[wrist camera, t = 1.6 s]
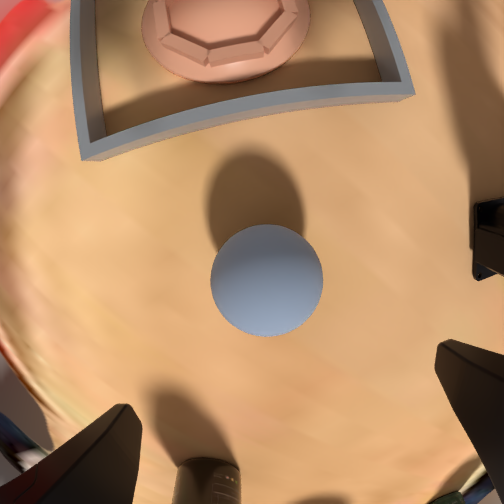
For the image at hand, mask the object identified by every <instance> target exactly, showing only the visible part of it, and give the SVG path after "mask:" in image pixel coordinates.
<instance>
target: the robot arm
mask: <svg viewBox="0 0 504 504" xmlns="http://www.w3.org/2000/svg"><path fill="white" fill-rule="evenodd" d="M479 207H480V210H479ZM478 274H479V275H478ZM495 274H499V275H501V276H503V277H504V197H500V198H495V199H489V200H484V201H479V202H476V203H475V205H474V271H473V277H474V279H475V280H477V281H480V280H483V279H486V278H488V277H491V276H493V275H495ZM435 372H436V374H437V376H438V378H439V380H440V383H441V385H442V387H443V389H444V391H445V393H446V395H447V398H448V400H449V402H450V404H451V406H452V408H453V410H454V412H455V414H456V416H457V418H458V419H459V421H460V423H461V424H462V426H463V428H464V430H465V431H466V433H467V435H468V437H469V439H470V440H471V442H472V444H473V446H474V448H475V449H476V451H477V453H478V455H479V457H480V459H481V461H482V463H483V465H484V467H485V469H486V471H487V473H488V475H489V477H490V479H491V481H492V483H493V485H494V487H495V489H496V491H497V493H498V495H499V498H500V500H501V502H502V504H504V355H502V354H498V353H495V352H492V351H488V350H485V349H482V348H478V347H475V346H472V345H469V344H465V343H462V342H459V341H456V340H453V339H448V340H446V341H443V342H441V343H439V344H438V346H437V352H436V359H435ZM141 439H142V423H141V421H140V419H139V418H138V416H137V415H136V413H135V411H134V410H133V408H132V406H131V405H129V404H116V405H114V406H113V407H112V408H111V409H109V410H108V411H107V412H105V413H104V414H103V415H102V416H100V417H99V418H98V419H96V420H95V421H94V422H92V423H91V424H90V425H88V426H87V427H86V428H84V429H83V430H82V431H80V432H79V433H78V434H76V435H75V436H74V437H72V438H71V439H70V440H68V441H67V442H66V443H64V444H63V445H62V446H60V447H59V448H58V449H56V450H55V451H54V452H52V453H51V454H49V455H48V456H47V457H45V458H44V459H43V460H41V461H40V462H38V464H35V465H34V466H33V467H31V468H30V469H28V470H27V471H25V472H24V473H22V474H21V475H20V476H18V477H16V478H15V479H13V480H11V481H9V482H8V483H6V484H4V485H2V486H0V504H132V502H133V497H134V491H135V486H136V481H137V476H138V470H139V461H140V449H141Z"/></svg>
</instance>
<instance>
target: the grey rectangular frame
mask: <svg viewBox="0 0 504 504" xmlns="http://www.w3.org/2000/svg"><path fill="white" fill-rule="evenodd" d="M353 1H354V3H355V5H356V8H357V10H358V13H359V15H360V18H361V20H362V23H363V25H364V28H365V31H366V33H367V36H368V39H369V42H370V45H371V48H372V51H373V54H374V57H375V60H376V63H377V66H378V69H379V73H380V76H381V80H382V82H365V83H345V84H332V85H321V86H311V87H302V88H294V89H287V90H280V91H274V92H268V93H262V94H256V95H251V96H246V97H240V98H236V99H231V100H226V101H222V102H217V103H213V104H209V105H205V106H201V107H197V108H193V109H190V110H186V111H182V112H179V113H175V114H172V115H168V116H165V117H162V118H159V119H155V120H152V121H149V122H146V123H143V124H140V125H137V126H134V127H132V128H129V129H126V130H123V131H121V132H118V133H115V134H113V135H110V136H107V135H106V129H105V123H104V116H103V109H102V102H101V94H100V85H99V76H98V65H97V52H96V34H95V0H71V11H70V64H71V82H72V94H73V105H74V114H75V122H76V129H77V136H78V143H79V149H80V155H81V160H82V161H103V160H105V159H108V158H111V157H113V156H116V155H119V154H122V153H125V152H128V151H131V150H133V149H136V148H140V147H143V146H146V145H149V144H152V143H155V142H158V141H162V140H165V139H169V138H172V137H175V136H179V135H183V134H186V133H190V132H194V131H198V130H202V129H206V128H210V127H214V126H218V125H222V124H227V123H231V122H236V121H241V120H246V119H251V118H256V117H261V116H267V115H272V114H278V113H284V112H291V111H298V110H305V109H312V108H321V107H330V106H339V105H351V104H364V103H382V102H398V101H401V100H403V99H406V98H408V97H411V96H413V95H416V94H415V90H414V87H413V83H412V79H411V76H410V73H409V69H408V66H407V63H406V60H405V57H404V54H403V51H402V48H401V45H400V42H399V40H398V37H397V34H396V32H395V29H394V27H393V24H392V22H391V19H390V17H389V14H388V12H387V10H386V7H385V5H384V3H383V1H382V0H353ZM309 25H310V8H309V4H308V1H307V0H149V1H148V3H147V6H146V8H145V10H144V14H143V17H142V35H143V40H144V42H145V45H146V47H147V49H148V50H149V52H150V54H151V55H152V56H153V57H154V58H155V59H156V61H157V62H158V63H159V64H160V65H162V66H163V67H164V68H165V69H167V70H168V71H170V72H172V73H173V74H175V75H177V76H180V77H182V78H185V79H188V80H192V81H195V82H201V83H209V84H230V83H237V82H243V81H247V80H251V79H254V78H257V77H260V76H263V75H265V74H267V73H269V72H271V71H273V70H275V69H277V68H278V67H280V66H281V65H283V64H284V63H285V62H286V61H288V60H289V59H290V58H291V57H292V56H293V55H294V54H295V53H296V52H297V51H298V49H299V48H300V46H301V45H302V43H303V41H304V39H305V37H306V34H307V32H308V28H309Z"/></svg>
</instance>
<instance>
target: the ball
mask: <svg viewBox="0 0 504 504" xmlns="http://www.w3.org/2000/svg"><path fill="white" fill-rule="evenodd" d="M210 281H211V290H212V295H213V298H214V301H215V304H216V306H217V307H218V309H219V311H220V312H221V314H222V315H223V316H224V317H225V319H226V320H227V321H228V322H230V323H231V324H232V325H233V326H235V327H236V328H238V329H240V330H241V331H244V332H246V333H249V334H252V335H256V336H264V337H267V336H278V335H282V334H285V333H288V332H290V331H292V330H294V329H296V328H297V327H299V326H300V325H302V324H303V323H304V322H305V321H306V320H307V319H308V318H309V317H310V316H311V314H312V313H313V311H314V310H315V308H316V306H317V305H318V302H319V300H320V297H321V293H322V288H323V273H322V267H321V264H320V261H319V258H318V256H317V254H316V252H315V251H314V249H313V248H312V246H311V245H310V244H309V243H308V242H307V241H306V240H305V239H304V238H303V237H302V236H300V235H299V234H298V233H296V232H294V231H293V230H291V229H288V228H286V227H283V226H279V225H272V224H262V225H255V226H251V227H248V228H246V229H243V230H241V231H239V232H238V233H236V234H234V235H233V236H232V237H231V238H229V239H228V240H227V241H226V242H225V243H224V245H223V246H222V247H221V249H220V250H219V252H218V254H217V255H216V257H215V260H214V263H213V266H212V270H211V280H210Z"/></svg>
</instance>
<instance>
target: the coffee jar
mask: <svg viewBox="0 0 504 504" xmlns="http://www.w3.org/2000/svg"><path fill="white" fill-rule="evenodd" d="M431 504H465V501H464V499H463V497H462V495H461V493H460V492H454V493H451V494H448V495H445V496H443V497H441V498H439V499H437V500H436V501H434V502H433V503H431Z"/></svg>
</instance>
